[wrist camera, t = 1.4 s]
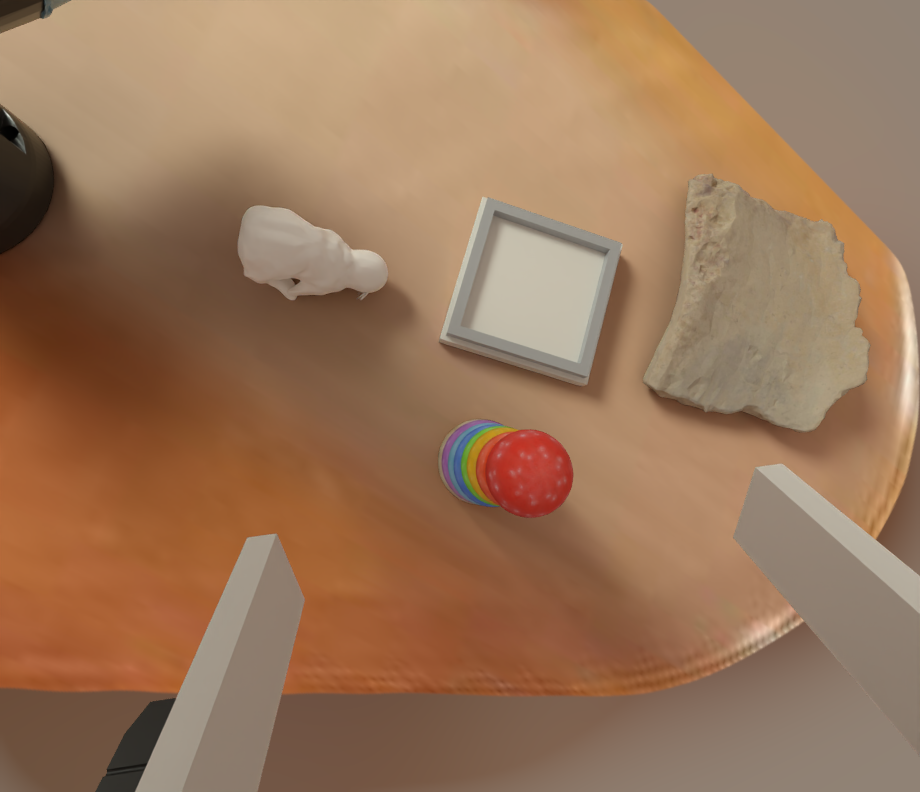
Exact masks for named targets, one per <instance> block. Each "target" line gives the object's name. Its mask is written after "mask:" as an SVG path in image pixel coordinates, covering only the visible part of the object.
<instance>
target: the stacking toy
mask: <svg viewBox="0 0 920 792" xmlns="http://www.w3.org/2000/svg"><path fill="white" fill-rule="evenodd" d="M438 469H439V473H440V476H441V479H442V481H443V483H444V485H445V486H446V488H447V489H448V490H449V491H450V492H451V493H452V494H453V495H454V496H456V497H457V498H459V499H460V500H462V501H464V502H467V503H471V504H477V505H481V506H488V507H499V506H501V507H502V508H504V509H505V510H507V511H508V512H510V513H512V514H514V515H517V516H521V517H527V518H534V517H540V516H544V515H546V514H549V513H551V512H552V511H554V510H555V509H557V508H558V507H559V506H561V505H562V503H563V502H564V501H565V499H566V498H567V496H568V494H569V492H570V490H571V487H572V482H573V468H572V463H571V460H570V457H569V455H568V454H567V452H566V450H565V449H564V447H563V446H562V445H561V443H559V442H558V441H557V440H556V439H555V438H553V437H552V436H550V435H548V434H546V433H544V432H541V431H537V430H517V429H514V428H511V427H506V426H504V425H502V424H500V423H497V422H494V421H490V420H485V419H475V420H469V421H466V422H464V423H462V424H460V425H458V426H456V427H455V428H454V429H452V430H451V431H450V432H449V433H448V435H447V436H446V437H445V439H444V440H443V442H442V444H441V447H440V450H439V454H438Z"/></svg>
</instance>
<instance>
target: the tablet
mask: <svg viewBox="0 0 920 792" xmlns="http://www.w3.org/2000/svg"><path fill="white" fill-rule="evenodd" d="M685 217H686V219H685V252H684V258H683V266H682V270H681V279H680V287H679V291H678V295H677V300H676V305H675V307H674V310H673V313H672V317H671V320H670V323H669V325H668V327H667V329H666V331H665V333H664V335H663V337H662V339H661V341H660V343H659V345H658V347H657V349H656V351H655V354H654V356H653V358H652V360H651V362H650V364H649V366H648V368H647V370H646V373H645V375H644V377H643V383H644V384H645V385H647V386H648V387H649V388H652V389H653V390H654V391H655V392H656V393H657V394H658V395H659V397H663V398H664V397H667V398H670V399H676V400H677V401H678V402H679V403H681V404H684V405H690V406H692V407H698V408H699V409H702V410H704V412H708V411H711V412H718V413H723V414H731V413H735V412H739V411H743V412H746V413H749V414H751V415H753V416H756V417H758V418H760V419H762V420H767V421H768V422H770V423H772V424H773V425H776V426H780V427H785V428H791V429H793V430H794V431H796V432H799V433H803V432H810V431H813V430H815V429H816V428H817V427H818V426H819V424H820V422H821V421H822V420H823V419H824V418H825V413H826V412H827V411H828V410H829V408H830V407H831V406H832V405H833V404H834V403H835V402H836V401H837V400H838V399H839V398H841V397H842V396H843V395H845V394H846V393H847V392H848V391H849V390H851V389H853V388H856V387H858V386H860V385H862V384H864V383H865V381H866V380H867V375H866V374H867V371H868V364H869V360H868V352H869V348H870V343H869V342H868V340H867V339H866V338H865V337H863V336H862V333H863V331H862V329H861V328H856V327H855V320H856V318H857V315H858V307H859V304H860V302H861V299H862V298H861V297H860V296H859V294H860V290H861V289H860V285H859V283H858V282H857V280H856V279H853V278H851V277H850V276H848V274H847V264H846V263H845V262H844V259H843V254H844V243H843V242H841V241H838V239H837V236H836V233H835V229H834V228H833V227H832V224H830V223H828V222H827V221H826V222H824V221H823V220H822V219H821V220H819V221H818V222H814V221H810V220H809V219H807V218H803V217H800V216H797V215H795V214H792V213H790V212H787V211H778V210H774V209H773V208H772V207H771V206H770V205H769V204H767V203H766V202H765V201H764V200H761V199H756V198H753V197H750V195H749V194H748V193H747V192H746V191H744V190H743V189H742V188H741V187H740V186H739V185H737V184H735V183H731V182H729V181H723V180H721V179H716V178H714V176H713V174H708V175H706V174H703V175H698V176H696V177H694V178H693V179H689V181H688V195H687V203H686V211H685Z"/></svg>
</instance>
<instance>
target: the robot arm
mask: <svg viewBox="0 0 920 792" xmlns="http://www.w3.org/2000/svg"><path fill="white" fill-rule="evenodd" d="M69 1H71V0H0V33H2V32H5V31H8V30H10V29H13V28H16V27H18V26H21V25H23V24H26V23H29V22H31V21H34V20H36V19H39V18H42V19H44V18H47V17H49V16H50V15H51V13H52V11H53V9H55V8H57V7H59V6H61V5H63V4H65V3H67V2H69ZM53 183H54V177H53V168H52V163H51V160H50V157H49V154H48V152H47V150H46V148H45V146H44V144H43V143H42V141H41V140H40V139H39V137H38V136H37V135H36V134H35V133H34V131H33V130H32V129H31V128H30V127H28V126H27V125H26V124H25V123H24V122H22V121H21V120H20V119H19V118H17V117H16V116H15V115H14V114H12V113H11V112H10V111H9V110H7V109H6V108H5V107H3V106H2V105H1V104H0V253H2V252H4V251H6V250H8V249H9V248H11V247H13V246H14V245H16V244H17V243H19V242H20V241H22V240H23V239H24V238H25V237H26V236H28V235H29V234H30V233H31V232H32V231H33V230H34V228H35V227H36V226H37V225H38V223H39V222H40V221H41V219H42V218H43V216H44V214H45V212H46V210H47V208H48V206H49V203H50V200H51V197H52V192H53ZM733 538H734V539H735V540H736V542H737V543H738V544H739V545H740V546H741V547H742V549H743V550H744V551H745V552H746V553H747V554H748V556H749V557H750V558H751V559H752V560H753V561H754V563H755V564H756V565H757V566H758V567H759V569H760V570H761V571H762V572H763V573H764V574H765V576H766V577H767V578H768V579H769V580H770V581H771V583H772V584H773V585H774V586H775V587H776V588H777V590H778V591H779V592H780V593H781V594H782V596H783V597H784V598H785V599H786V600H787V601H788V603H789V604H790V605H791V606H792V607H793V608H794V610H795V611H796V612H797V613H798V614H799V615H800V617H801V618H802V619H803V620H804V621H805V622H806V624H807V625H808V626H809V627H810V628H811V630H812V631H813V632H814V633H815V634H816V635H817V637H818V638H819V639H820V640H821V641H822V642H823V644H824V645H825V646H826V647H827V648H828V649H829V651H830V652H831V653H832V654H833V655H834V656H835V658H836V659H837V660H838V661H839V662H840V663H841V665H842V666H843V667H844V668H845V669H846V671H847V672H848V673H849V674H850V675H851V676H852V678H853V679H854V680H855V681H856V682H857V683H858V685H859V686H860V687H861V688H862V689H863V691H864V692H865V693H866V694H867V695H868V696H869V697H870V699H871V700H872V701H873V702H874V703H875V705H876V706H877V707H878V708H879V709H880V710H881V712H882V713H883V714H884V715H885V716H886V717H887V719H888V720H889V721H890V722H891V723H892V724H893V726H894V727H895V728H896V729H897V730H898V731H899V733H900V734H901V735H902V736H903V737H904V739H906V741H907V742H908V743H909V744H910V745H911V747H912V748H913V749H914V750H915V752H916V753H917V754H918V755H919V756H920V576H919V575H918V574H916V573H915V572H914V571H913V570H912V569H910V568H909V567H908V566H906V565H905V564H904V563H903V562H902V561H901V560H899V559H898V558H897V557H896V556H895V555H893V554H892V553H891V552H890V551H888V550H887V549H886V548H885V547H883V546H882V545H881V544H880V543H879V542H877V541H876V540H875V539H874V538H872V537H871V536H870V535H869V534H868V533H866V532H865V531H864V530H863V529H861V528H860V527H859V526H858V525H857V524H855V523H854V522H853V521H852V520H850V519H849V518H848V517H847V516H846V515H844V514H843V513H842V512H841V511H839V510H838V509H837V508H836V507H835V506H833V505H832V504H831V503H830V502H828V501H827V500H826V499H825V498H824V497H822V496H821V495H820V494H819V493H817V492H816V491H815V490H814V489H812V488H811V487H810V486H809V485H808V484H806V483H805V482H804V481H803V480H801V479H800V478H799V477H798V476H797V475H795V474H794V473H793V472H792V471H790V470H789V469H788V468H787V467H786V466H784V465H783V464H775V465H768V466H761V467H755V470H754V473H753V476H752V479H751V483H750V486H749V489H748V492H747V495H746V498H745V502H744V505H743V508H742V511H741V514H740V517H739V520H738V524H737V527H736V530H735V533H734V536H733ZM304 601H305V599H304V596H303V594H302V592H301V589H300V587H299V585H298V582H297V580H296V578H295V575H294V573H293V571H292V568H291V566H290V564H289V561H288V559H287V557H286V554H285V552H284V550H283V547H282V545H281V543H280V540H279V538H278V535H277V534H270V535H263V536H255V537H248V538H247V540H246V542H245V544H244V546H243V549H242V551H241V553H240V555H239V558H238V560H237V562H236V564H235V567H234V569H233V571H232V573H231V576H230V578H229V580H228V583H227V585H226V587H225V589H224V592H223V594H222V596H221V598H220V601H219V603H218V605H217V607H216V610H215V612H214V614H213V617H212V619H211V621H210V623H209V626H208V628H207V630H206V632H205V635H204V637H203V639H202V641H201V644H200V646H199V648H198V650H197V653H196V655H195V657H194V660H193V662H192V664H191V666H190V669H189V671H188V673H187V675H186V678H185V680H184V682H183V684H182V687H181V689H180V691H179V693H178V696H177V698H173V699H167V700H160V701H153V702H150V703H149V704H148V706H147V707H146V708H145V709H144V711H143V712H142V713H141V714H140V716H139V717H138V718H137V719H136V721H135V722H134V723H133V724H132V726H131V727H130V728H129V729H128V730H127V732H126V733H125V734H124V736H123V739H122V740H121V742H120V744H119V746H118V749H117V750H116V752H115V754H114V756H113V758H112V760H111V762H110V764H109V766H108V768H107V774H106V776H105V777H103V778H102V780H101V782H100V784H99V786H98V788H97V790H96V792H257V791H258V787H259V783H260V779H261V775H262V770H263V767H264V762H265V759H266V754H267V751H268V747H269V742H270V738H271V734H272V730H273V726H274V722H275V718H276V714H277V710H278V706H279V702H280V698H281V694H282V690H283V686H284V682H285V678H286V674H287V670H288V666H289V662H290V658H291V654H292V650H293V646H294V642H295V637H296V633H297V629H298V625H299V621H300V617H301V613H302V609H303V605H304Z"/></svg>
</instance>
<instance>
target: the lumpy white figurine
mask: <svg viewBox="0 0 920 792" xmlns="http://www.w3.org/2000/svg"><path fill="white" fill-rule="evenodd" d="M238 255H239V257H240V260H241V262H242V265H243V266H244V276H246V277H248V278H250V279H252V280H253V281H255V282H256V283H260V284H264V283H267V284H269V285H270V286H273V287H275V288H276V289H278V290H279V291H280V292H281V293H282V294H283V295H284V296H285V297H286V298H288V299H289V300H295V299H296V298H297V296H298V295H325V294H328V293H332V292H338V291H341V290H343V289H344V288H351V289H355V290H356V291H360V293H361V292H362V295H360V294H359V295H360V296H359V297H358V298H360V297H361V296H362V297H361V300H362V299H363V298H364V297H365V296H366V295H367V294H368V293H371V292H375V291H378V290H379V289H381V288H382V287H383V286H384V285H385V283H386V281H387V278H388V269H387V265H386V263H385V261H384V260H383V258H382V257H381V256H379V255H378V254H376V253H374V252H372V251H368V250H353V249H351V248H350V247H349V246H348V244H346V243H345V242H344V241H343V239H342V238H341V237H340V236H339V235H338V234H337V233H335V232H334V231H332V230H329V229H323V228H320V227H314V226H313V225H312V224H310V223H309V222H307V221H305V220H304V219H303V218H302V217H300V216H299V215H297V214H296V213H294V212H293V211H291V210H289V209H285V208H281V207H268V206H260V205H257V206H252V207H250V208H248V209H247V211H246V212H245V214H244V215H243V217H242V222H241V228H240V232H239V238H238ZM291 278H296V279H299V280H300V282H299V283H298V284H296V285H295V283H294V282H293V280H292V279H291ZM363 292H364V293H363ZM358 298H357V299H358ZM361 300H360V301H361Z"/></svg>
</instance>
